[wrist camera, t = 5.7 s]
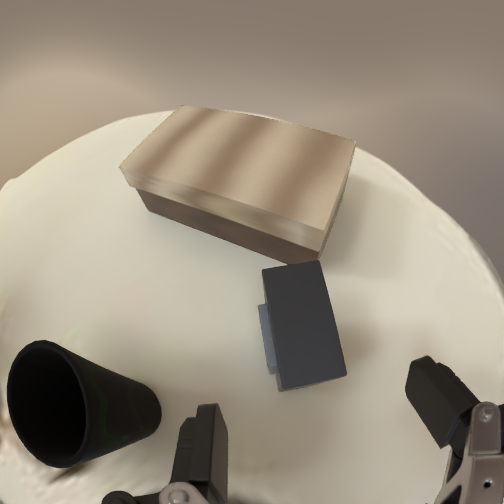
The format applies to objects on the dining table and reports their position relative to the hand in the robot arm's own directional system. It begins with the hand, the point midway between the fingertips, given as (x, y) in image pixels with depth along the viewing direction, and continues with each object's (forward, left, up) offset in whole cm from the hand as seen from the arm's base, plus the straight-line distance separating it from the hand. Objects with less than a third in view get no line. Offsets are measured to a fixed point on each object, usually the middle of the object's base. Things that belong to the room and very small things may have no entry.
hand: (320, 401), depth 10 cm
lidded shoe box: (-13, +16, -12) cm, 24 cm away
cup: (-12, -8, -13) cm, 19 cm away
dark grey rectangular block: (-2, +3, -12) cm, 13 cm away
